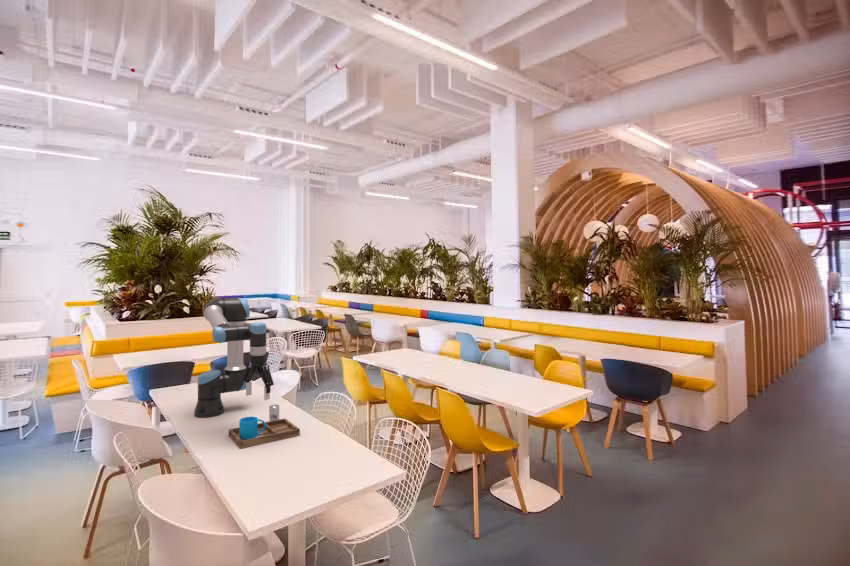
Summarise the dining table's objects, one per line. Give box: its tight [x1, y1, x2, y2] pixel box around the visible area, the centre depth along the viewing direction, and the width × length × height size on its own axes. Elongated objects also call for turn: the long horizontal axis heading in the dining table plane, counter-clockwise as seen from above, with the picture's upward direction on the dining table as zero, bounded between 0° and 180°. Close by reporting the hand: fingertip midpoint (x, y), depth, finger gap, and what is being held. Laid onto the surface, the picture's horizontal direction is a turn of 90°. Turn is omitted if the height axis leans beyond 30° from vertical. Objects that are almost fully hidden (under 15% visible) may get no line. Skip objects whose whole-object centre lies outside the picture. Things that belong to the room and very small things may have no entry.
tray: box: [228, 417, 301, 450], centre depth 215 cm, size 20×28×3 cm
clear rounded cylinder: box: [268, 404, 280, 422], centre depth 233 cm, size 5×5×9 cm
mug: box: [238, 416, 266, 439], centre depth 212 cm, size 12×8×8 cm
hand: (257, 397), depth 216 cm, fingers open, 13 cm apart
